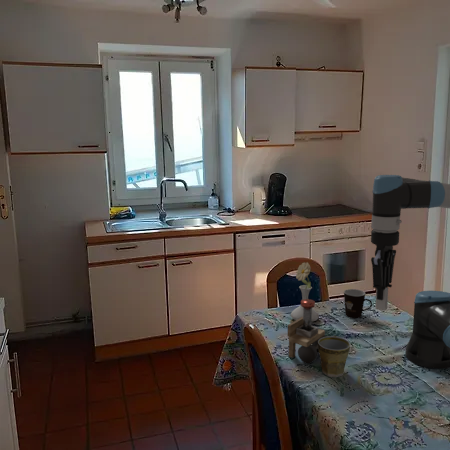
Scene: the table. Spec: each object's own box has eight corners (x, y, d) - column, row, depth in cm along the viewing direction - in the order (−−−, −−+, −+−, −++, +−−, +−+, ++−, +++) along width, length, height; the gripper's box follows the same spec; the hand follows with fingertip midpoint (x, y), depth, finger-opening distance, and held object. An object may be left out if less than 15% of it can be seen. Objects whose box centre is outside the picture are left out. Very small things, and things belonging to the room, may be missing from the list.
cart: (330, 353, 159) (331, 321, 157) (313, 366, 150) (313, 333, 148) (305, 344, 165) (306, 314, 163) (287, 357, 156) (287, 325, 154)
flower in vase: (289, 313, 194) (290, 256, 189) (316, 314, 193) (318, 256, 189) (292, 326, 181) (293, 265, 176) (321, 326, 181) (323, 265, 176)
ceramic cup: (348, 382, 140) (349, 351, 138) (315, 377, 143) (316, 347, 141) (349, 362, 153) (351, 334, 151) (319, 358, 155) (320, 330, 153)
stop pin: (316, 332, 157) (317, 301, 155) (309, 337, 154) (310, 305, 152) (304, 329, 160) (305, 298, 158) (297, 333, 157) (298, 301, 154)
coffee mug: (338, 312, 194) (339, 290, 192) (356, 310, 197) (357, 288, 195) (354, 323, 183) (355, 299, 181) (372, 320, 186) (374, 297, 184)
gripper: (389, 236, 122) (385, 319, 127) (407, 227, 133) (402, 304, 137) (362, 232, 127) (359, 313, 132) (381, 224, 137) (377, 299, 142)
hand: (381, 308), depth 134 cm, fingers closed
